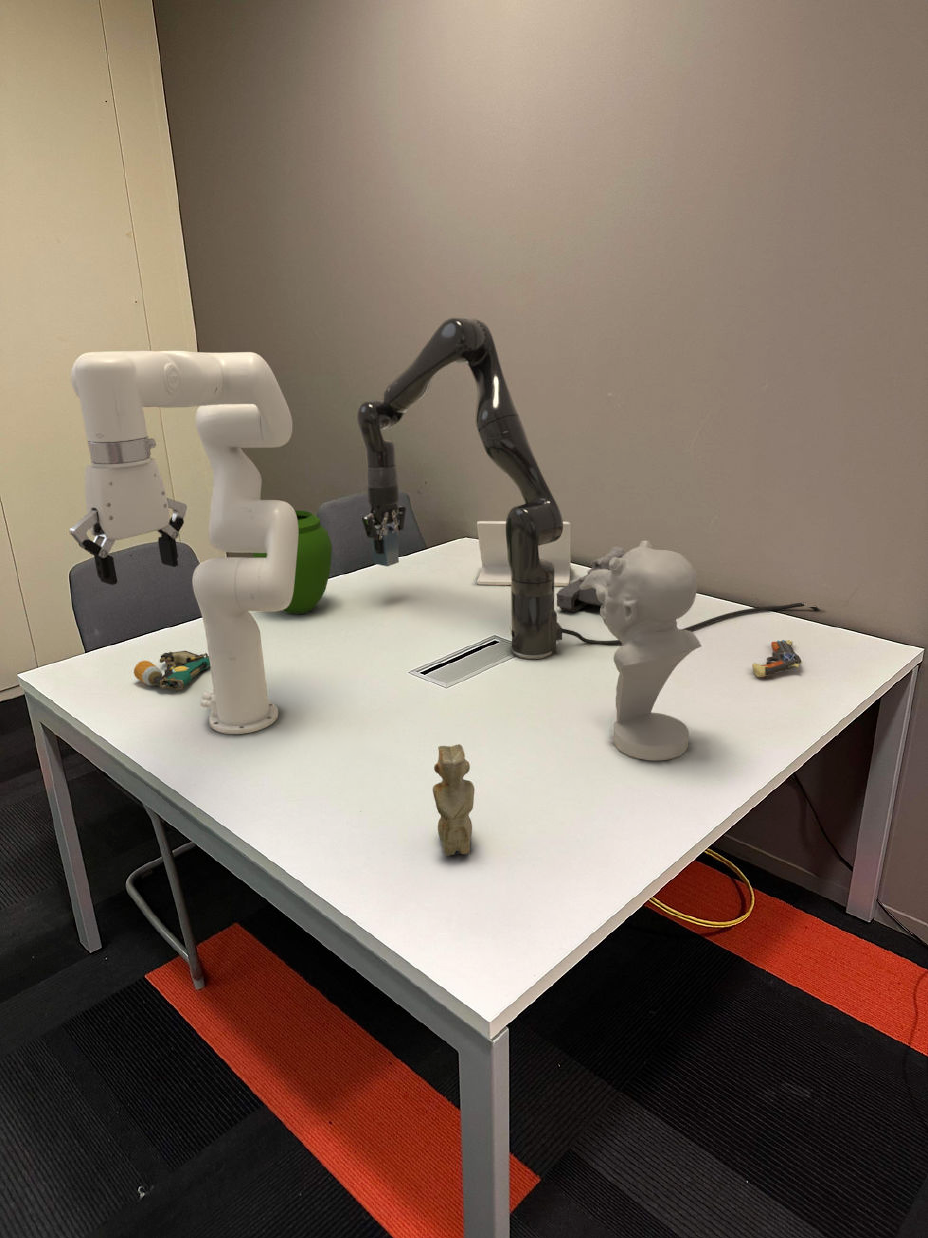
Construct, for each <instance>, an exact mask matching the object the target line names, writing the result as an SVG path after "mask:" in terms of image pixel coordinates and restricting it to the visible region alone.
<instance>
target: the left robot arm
mask: <svg viewBox="0 0 928 1238" xmlns="http://www.w3.org/2000/svg"><path fill="white" fill-rule="evenodd" d="M70 382H71V387H72V389H73V392H74V393H75V395H76V396H77V397H78V399H79V402H80V407H81V414H82V419H83V424H84V429H85V430H84V431H85V436H86V441H87V446H88V453H89V456H90V462H91V464H88V465H86V466H85V474H84V495H85V497H84V498H85V506H86V507H85V508H86V514H85V515H84V516H83V517H82V518H80V519H79V520H78V521H77V522H76V523H75V524H74V525H73V526H71V527H70V528H69V534H70V536H72V538H73V539H74V541H76V543H78V545H79V547H80V548H82V549H83V550H85V551H86V552H88V553H89V554H90V555H91V556H93V559H94V563H95V569H96V573H97V577H98V579H100V582H102V583H104V584H108V585H111V586H114V585H117V583H118V578H117V572H116V566H115V561H114V557H113V556H112V555H109V554H110V551H111V550H112V547H113V546H114V544H115V542H116V541H121V540H124V539H129V538H133V537H137V536H142V535H146V534H149V533H153V532H157V533H158V534H159V535H160V536H158V538H157V542H158V549H159V555H160V561H161V564H162V565H164V566H165V565H166V566H169V567H173V568H176V567H178V566H179V561H178V558H179V553H178V546H177V541H176V540H177V539H178V538H179V537H180V536H179V535H180V534H179V532H180V530H181V528H182V527H183V526H184V524H185V520H184V519H185V517H186V513H187V509H188V506H187V504H186V503H183V502H182V501H181V502H180V501H177V500H175V499H171V498H169V497H167V494H166V489H165V484H164V482H163V477H162V475H161V472H160V469H159V467H158V465H157V462H156V459H155V458H154V457H151V455H152V453H151V450H152V449H155V448H156V447H157V443H156V442H157V441H156V440H155V439H154V438H149V436H148V433H147V426H146V419H145V414H144V408H164V409H167V408H168V409H169V408H171V409H172V408H191V407H197V410H196V412H195V426H196V431H197V434H198V437H199V440H200V442H201V444H202V447H203V449H204V451H205V453H206V455H207V458H208V461H209V463H210V466H211V469H212V474H213V475H212V476H213V484H212V492H211V493H212V494H211V502H210V511H209V512H210V513H209V518H208V519H209V520H208V539H209V542H210V544H211V546H212V547H213V548H214V549H216V550H218V551H219V552H223V553H224V552H225V553H235V554H236V553H237V554H239V553H240V554H243V553H244V554H246V553H247V554H250V553H251V554H253V553H267V557H266V558H254V557H245V556H243V557H242V556H230V557H229V556H226V557H225V556H222V557H221V556H220V557H213V558H208V559H206V560H204V561H201V562H200V563H199V564H198V565H197V566H196V567H195V569H194V571H193V573H192V583H191V584H192V590H193V593H194V594H193V595H194V597H195V599H196V603H197V606H198V608H199V611H200V615H201V618H202V622H203V627H204V632H205V638H206V644H207V645H206V646H207V652H208V653H207V654H208V656H209V660H210V666H209V667H210V673H211V681H212V686H213V692H212V691H204V692H203V694H202V699H201V701H200V706H201V707H203V708H210V709H211V714H210V716H209V719H208V720H209V725H210V727H211V728H212V729H213V730H214V731H216V732H218V733H221V734H225V735H244V734H249V733H254V732H257V731H260V730H263V729H265V728H267V727H269V726H271V725H273V723H275V721H276V720H277V719H278V717H279V709H278V707H277V705H276V704H275V703H273V702H271V701H269V695H268V686H267V679H266V671H265V662H264V654H263V645H262V635H261V630H260V627H259V624H258V623H257V621H256V619H255V618H254V616H253V615H252V614H251V613H250V612H281V611H282V610H284V609H285V608H287V607H288V606H289V604H290V602H291V600H292V596H293V591H294V582H295V571H296V560H297V548H298V533H299V530H298V520H297V516H296V513H295V511H296V510H295V509H294V507H293V506H292V505H291V504H290V503H288V502H287V501H284V500H278V499H261V495H262V485H263V483H262V482H263V481H262V475H261V473H260V471H259V470H258V468H257V466H256V465H255V464H254V462H253V461H252V460H251V459H250V457H248V455H247V454H246V453H245V452H244V451H243V450H242V449H258V448H259V449H262V448H263V449H265V448H266V449H267V448H269V449H270V448H271V449H272V448H280V447H282V446H284V445H287V443H288V442H289V441H290V439H291V438H292V434H293V418H292V414H291V410H290V408H289V405H288V404H287V401H286V398H285V396H284V394H283V391H282V390H281V387H280V384H279V383H278V380H277V378H276V376H275V373H274V372H273V370H272V369H271V367H270V365H269V364H268V362H267V361H266V360H265V359H264V358H263V357H262V356H261V355H260V354H258V353H256V352H252V351H241V352H240V351H239V352H233V351H231V352H204V351H203V352H201V351H188V350H159V351H154V350H116V351H115V350H114V351H113V350H111V351H108V350H107V351H90V352H85V353H83V354H81V355H79V356H78V357H77V358H76V359H75V361H74V362H73V364H72V366H71V371H70ZM170 510H172V516H171V515H170ZM170 516H171V517H170ZM88 531H90V534H91V535H92V536H94V539H93V540H91V539H90V538H89V536H88V534H87V532H88Z"/></svg>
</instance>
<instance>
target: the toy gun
mask: <svg viewBox="0 0 928 1238" xmlns="http://www.w3.org/2000/svg"><path fill="white" fill-rule="evenodd" d="M793 643H794V642H793V641H792V640H790V639H788V640H787V639H785V640H784V639H782V640H781V641H780V640H776V641H772V642H771V643H770V644H771V649H772V652H771V656H768V657H766V664H759V663H756V662H754V663H752V665H751V666H752V671H753V673H754V675H755V676H756V677H757V678H764V677H767V676H772V675H774V674H778V673H780V672H785V671H787V670H790V669H792V668H795V667H796V668H799V666H800V665H801V664H803V663H804V662H803V661H802V659H801V657H800V656H799V655H798V654H797V653H796V652H795V650H794V648H793V646H794V645H793Z"/></svg>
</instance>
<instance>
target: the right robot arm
mask: <svg viewBox="0 0 928 1238" xmlns="http://www.w3.org/2000/svg"><path fill="white" fill-rule="evenodd" d="M452 364H466V365H467V366H468V368H469V370H470V372H471V374H472V377H473V379H474V382H475V386H476V390H477V391H476V393H477V396H476V397H477V398H476V405H475V427H476V430H477V433H478V436H479V438H480V441H481V444H482V446H483V448H484V451H485V453H486V455H487V456H488V457H489V459H490V460H491V461H492V462H493V463H494V464H495V465H496V466H497V467H498V468H499V469H500V470H501V471H502V472H503V473H504V474H505V475H506V476H507V477H508V478H509V479H510V480H512V482H513V483H514V484H515V486H516V487H517V489H518V490H519V493H520V495H521V496H522V499H523V501H524V503H523V504H518V505H515V506H513V507H511V509H509V511H508V513H507V516H506V520H505V521H506V543H507V559H508V564H509V567H510V570H511V585H510V588H511V589H510V597H511V599H510V603H511V604H510V606H511V607H510V609H511V610H510V615H511V617H510V618H511V621H510V622H511V625H510V626H509V629H510V630H509V631H510V635H511V643H510V644H511V647H510V651H511V653H512V655H513V656H515V657H518V658H521V659H525V660H526V659H527V660H540V659H545V658H548V657H550V656H552V655H557V654H558V653H557V650H558V649H557V648H558V647H557V645H558V644H557V643H558V641H562V640H563V634H566V635H569V636H570V635H571V636H574V637H576V638H577V639H578V640H580V641H581V642H582V643H585V644H587V645H588V644H589V645H597V646H598V645H599V646H615V645H616V646H617V645H623V644H622V642H620V641H619V640H618V639H615V640H613V639H612V640H596V639H595V640H594V639H590V638H586V637H584V636H582V634H580V633H579V632H577V631H574V630H572V629H567V628H563V627H562V626H561V625H560V623H558V613H557V612H556V611H555V586H554V565H553V564H552V563H551V562H549V561H547V560H544V559H539V551H538V546H541V545H545V544H548V543H552V542H554V541H557V540H558V539H559V538H560V537H561V535H562V532H563V522H564V521H563V516H562V513H561V510H560V507H559V505H558V503H557V501H556V499H555V497H554V495H553V493H552V491H551V489H550V487H549V485H548V484H547V482H546V479H545V477H544V475H543V474H542V471H541V468H540V466H539V465H538V462H537V460H536V457H535V454H534V453H533V450H532V447H531V445H530V442H529V439H528V436H527V434H526V431H525V427H524V425H523V423H522V420H521V418H520V415H519V413H518V410H517V408H516V406H515V403H514V401H513V398H512V396H511V392H510V389H509V387H508V384H507V382H506V379H505V376H504V373H503V370H502V366H501V362H500V358H499V356H498V351H497V347H496V344H495V340H494V337H493V334H492V332H491V330H490V328H489V326H488V325H487V324H486V323H485V322H484V321H482V320H480V319H477V318H472V317H471V318H470V317H459V316H457V317H450V318H447V319H446V320H444V321H443V322H442V323H441V324H440V325H439V327H437V329H436V330H435V332H434V333H433V334H432V336H431V337H430V338H429V340H428V341H427V342H426V344H425V345H424V346H423V348H422V349H421V350H420V352H419V353H418V354H417V356H416V357H415V358H414V360H413V361H412V362H411V363H410V364H409V365H408V366H407V367H406V368H405V369H404V370H403V371H402V372H401V373H400V374H399V375H398V376H397V377H396V378H395V379H393V380H392V381H391V382H390V383H389V384H387V386H386V387H385V389H384V391H383V395H382V396H383V398H380V399H373V400H366V401H364V402H361V404H360V405H359V406H358V408H357V412H356V424H357V428H358V431H359V433H360V436H361V439H362V442H363V445H364V448H365V458H366V459H365V461H366V489H367V502H368V503H369V505H370V511H369V514H368V515H362V517H361V520H362V524H363V528H364V530H365V533H366V537H367V538H368V539H372V538H373V539H374V545H375V551H376V553H378V554H383V553H384V544H383V539H382V538H383V532H384V530H391V531H396V532H397V539H398V538H399V537H398V536H399V535H398V534H399V532H400V531H403V530H404V524H405V517H406V512H407V509H406V506H402V505H398V502H399V501H400V496H399V481H398V480H399V479H398V471H397V465H396V463H397V462H396V448H395V443H394V442H393V441H392V440H390V439H387V438H384V437H383V433H382V430H383V431H384V430H389V429H391V428H394V427H395V426H397V425H398V424H399V423H400V422H401V421H402V420H403V418H404V416H405V415H406V413H407V412H408V410H409V409H410V408H411V407H413V406H414V405H415V404H416V403H418V402H419V401H420V400H421V399H422V398H423V397H424V396H425V395H426V394H427V392H428V391H429V389H430V386H431V384H432V380H433V378H434V376H435V375H436V374H437V373H438V372H439V371H441V370H442V369H444V368H446V367H447V366H449V365H452ZM386 528H387V529H386ZM378 531H379V534H377V532H378ZM398 540H399V539H398ZM802 603H803V602H794V603H789V604H783V605H771V606H769V605H768V606H760V607H752V608H745V609H740V610H736V611H732V612H731V611H730V612H728V613H724V614H721V615H718V616H714V617H712V618H710V619H706V620H704V621H701V622H698V623H696V624H692V625H690V626H687V627H685V628H682V629H683V630H688V631H691V632H692V631H693V630H696V629H699V628H702V627H705V626H707V625H709V624H710V625H711V624H713V623H715V622H718V621H722V620H724V619H728V618H731V617H736V616H740V615H744V614H752V613H756V612H757V613H758V612H765V611H766V612H767V611H782V610H788V609H794V608H801V607H803V606H804V604H802ZM803 608H804V607H803ZM809 608H810V609H812V610H813V611H814V612H820V611H821V610H820V608H819V607H817V606H816V607H809Z"/></svg>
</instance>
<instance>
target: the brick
mask: <svg viewBox="0 0 928 1238" xmlns="http://www.w3.org/2000/svg"><path fill="white" fill-rule="evenodd" d="M377 534H379V530H378V532H377ZM397 536H398V534H397V532H396V531H391V530H388V529H385V530H384V532H383V538H382V539H383V544H384V553H383V554H378V553H376V551H375V545H374V539H373V538H371V545H372V559H373V564H374V565H379V566H383V567H390V566H393V565H396V564H398V563H400V557H399V539H397Z"/></svg>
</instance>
